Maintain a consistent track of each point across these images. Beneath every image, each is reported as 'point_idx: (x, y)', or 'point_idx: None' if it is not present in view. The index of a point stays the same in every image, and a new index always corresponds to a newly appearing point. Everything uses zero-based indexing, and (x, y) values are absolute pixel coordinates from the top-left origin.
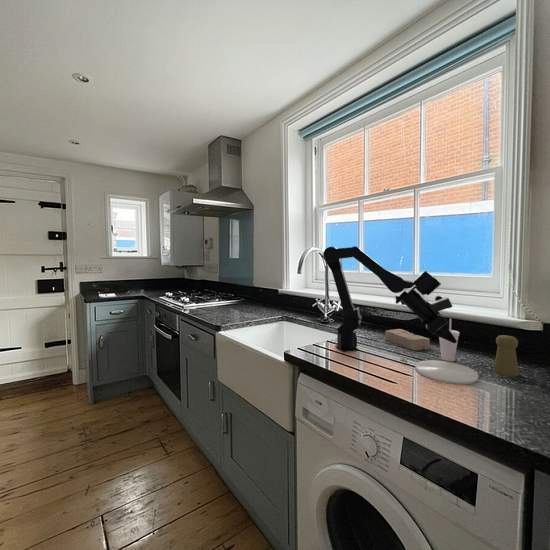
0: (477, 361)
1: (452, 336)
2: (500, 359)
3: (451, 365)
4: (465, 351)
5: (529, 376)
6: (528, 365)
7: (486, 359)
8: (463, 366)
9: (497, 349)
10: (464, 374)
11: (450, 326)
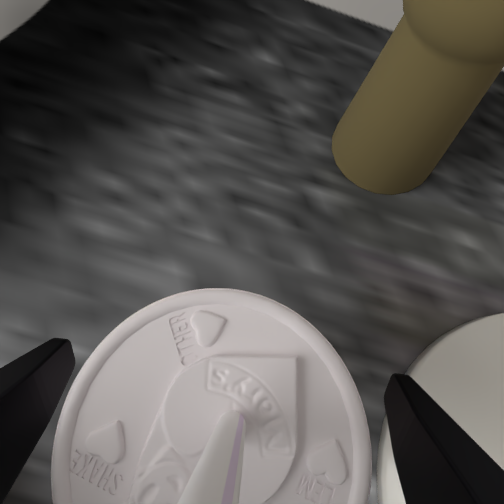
0: (223, 214)
1: (476, 454)
2: (457, 131)
3: (472, 434)
4: (12, 214)
5: None
6: (225, 19)
7: (169, 155)
8: (458, 355)
9: (443, 93)
10: None
11: (243, 451)
